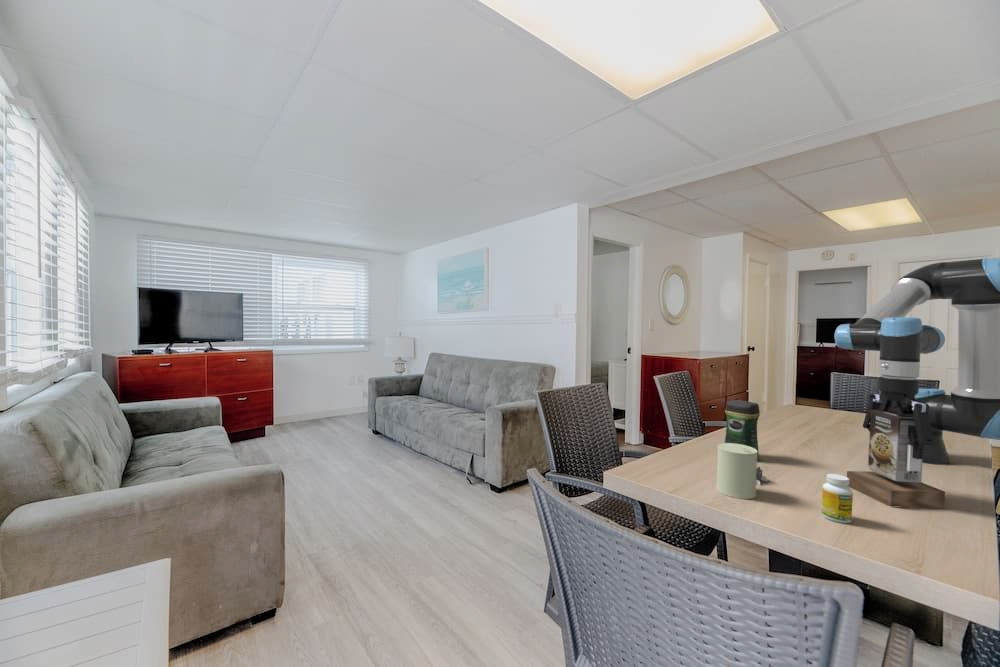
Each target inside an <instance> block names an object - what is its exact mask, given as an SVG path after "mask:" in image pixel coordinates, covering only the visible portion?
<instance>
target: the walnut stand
mask: <svg viewBox="0 0 1000 667" xmlns="http://www.w3.org/2000/svg"><path fill="white" fill-rule="evenodd" d="M846 477H847V478H849V485H848V487H849V488H851V489H852V490H855V491H856V492H859V493H861V494H864V495H865V496H867V497H870V498H871V499H874V500H876V501H878V502H879V503H882V504H884V503H885V504H884V505H886V504H887V505H886V506H888V505H889V506H888V507H890V506H901V507H900V508H925V507H927V508H928V507H930V508H929V509H931V508H932V509H934V508H935V509H936V508H937V509H940V508H941V509H942V508H943V509H945V504H946V491H945V490H943V489H940V488H937V487H934V486H932V485H929V484H926V483H924V482H922V481H921V483H920V482H901V481H894V480H892V479H890V478H888V477H885V476H883V475H881V474H879V473H877V472H875V471H868V470H867V471H866V470H865V471H864V470H861V471H859V470H857V471H856V470H855V471H854V470H851V471H850V470H847V471H846Z"/></svg>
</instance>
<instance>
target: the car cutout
mask: <svg viewBox="0 0 1000 667" xmlns="http://www.w3.org/2000/svg"><path fill="white" fill-rule="evenodd" d="M761 481H764V482H768V477H767V476H766V475H763V469H761V467H760V466H757V469H756V486H761Z"/></svg>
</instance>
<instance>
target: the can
mask: <svg viewBox="0 0 1000 667" xmlns="http://www.w3.org/2000/svg"><path fill="white" fill-rule="evenodd" d="M757 453H759V450H758V451H757V450H756V449H754V448H752V447H749V446H746V445H741V444H735V443H725V442H724V443H723V442H722V443H718V444H717V465H716V466H717V467H716V468H717V469H716V485H715V489H716V490H717V491H718V492H719V493H721V494H722V495H725V496H728V497H729V498H736V499H740V500H742V499H743V500H751V499H755V498H756V497H757V484H756V469H757V468H758V466H757V465H758V464H757V463H758V458H757Z"/></svg>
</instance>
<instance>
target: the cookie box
mask: <svg viewBox="0 0 1000 667" xmlns="http://www.w3.org/2000/svg"><path fill="white" fill-rule="evenodd" d="M869 424H870V432H869V442H868V446H869V447H868V458H867V460H868V461H867V468H868V470H869V471H871V472H877V473H879V474H881V475H883V476H885V477H888V478H890V479H892V480H894V481H901V482H920V483H921V482H922V475H923V463H924V462H923V459H921V468H920V471H907V470H906V466H907V446H908V443H911V441H910V439H909V436H908V426H909V425H911V426H916V425H915V420H914V418H910V417H901V416H898V414H895V413H893V412H881V411H878V410H871V416H870V423H869ZM917 440H918V439H917Z"/></svg>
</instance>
